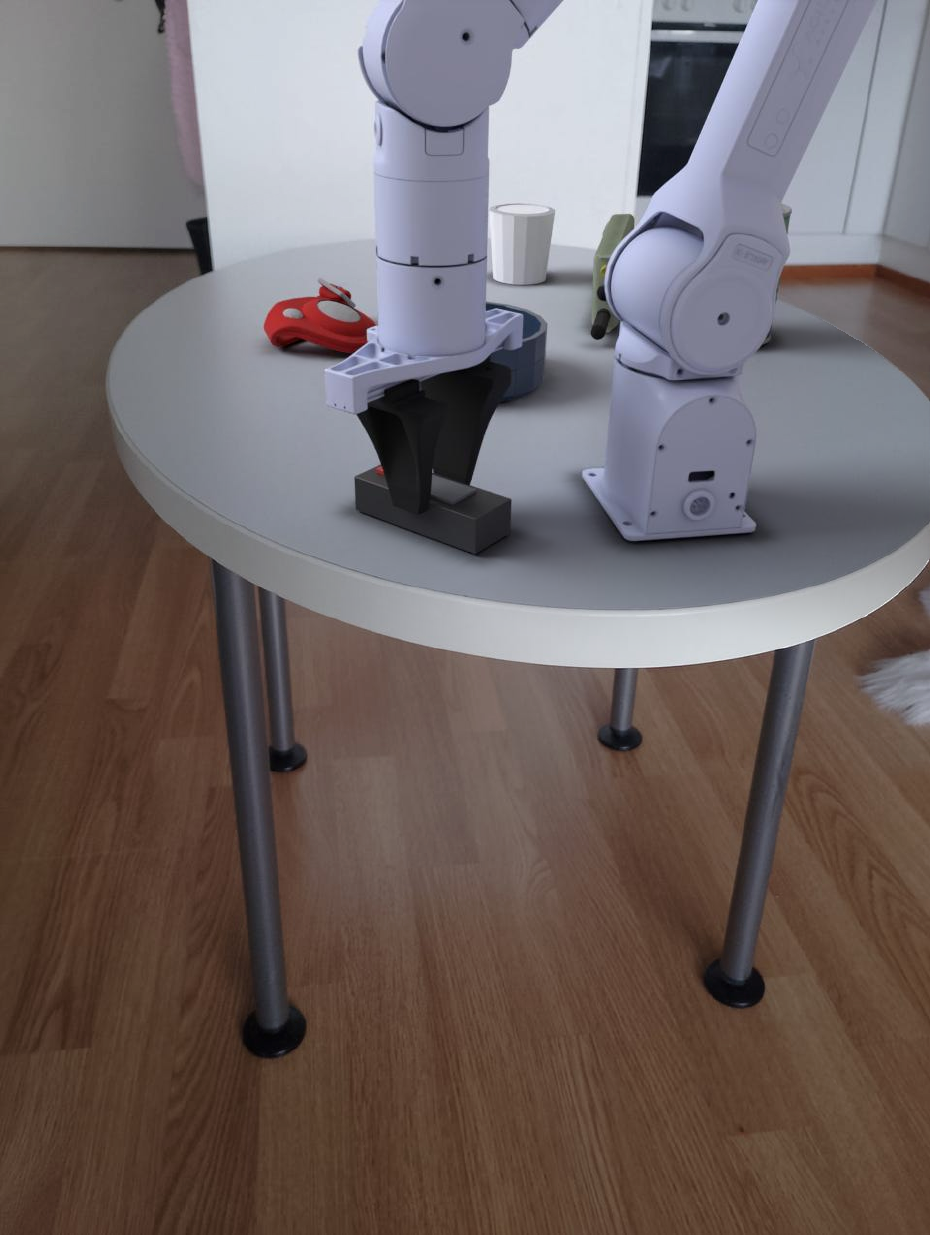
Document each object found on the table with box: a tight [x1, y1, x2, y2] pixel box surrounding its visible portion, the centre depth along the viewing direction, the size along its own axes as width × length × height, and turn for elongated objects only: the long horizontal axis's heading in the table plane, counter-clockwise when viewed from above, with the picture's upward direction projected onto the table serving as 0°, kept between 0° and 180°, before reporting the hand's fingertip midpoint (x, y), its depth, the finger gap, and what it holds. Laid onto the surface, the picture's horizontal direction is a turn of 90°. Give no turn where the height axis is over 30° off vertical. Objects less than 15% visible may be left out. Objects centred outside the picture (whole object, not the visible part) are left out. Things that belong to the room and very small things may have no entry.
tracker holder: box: [263, 277, 378, 354], centre depth 92 cm, size 12×4×10 cm
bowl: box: [419, 300, 549, 403], centre depth 83 cm, size 13×13×4 cm
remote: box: [353, 463, 513, 555], centre depth 61 cm, size 9×3×2 cm, turn 53°
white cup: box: [488, 203, 556, 286], centre depth 110 cm, size 7×7×7 cm
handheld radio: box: [590, 213, 635, 341], centre depth 100 cm, size 7×3×25 cm
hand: (431, 496), depth 61 cm, fingers closed on remote, 3 cm apart
